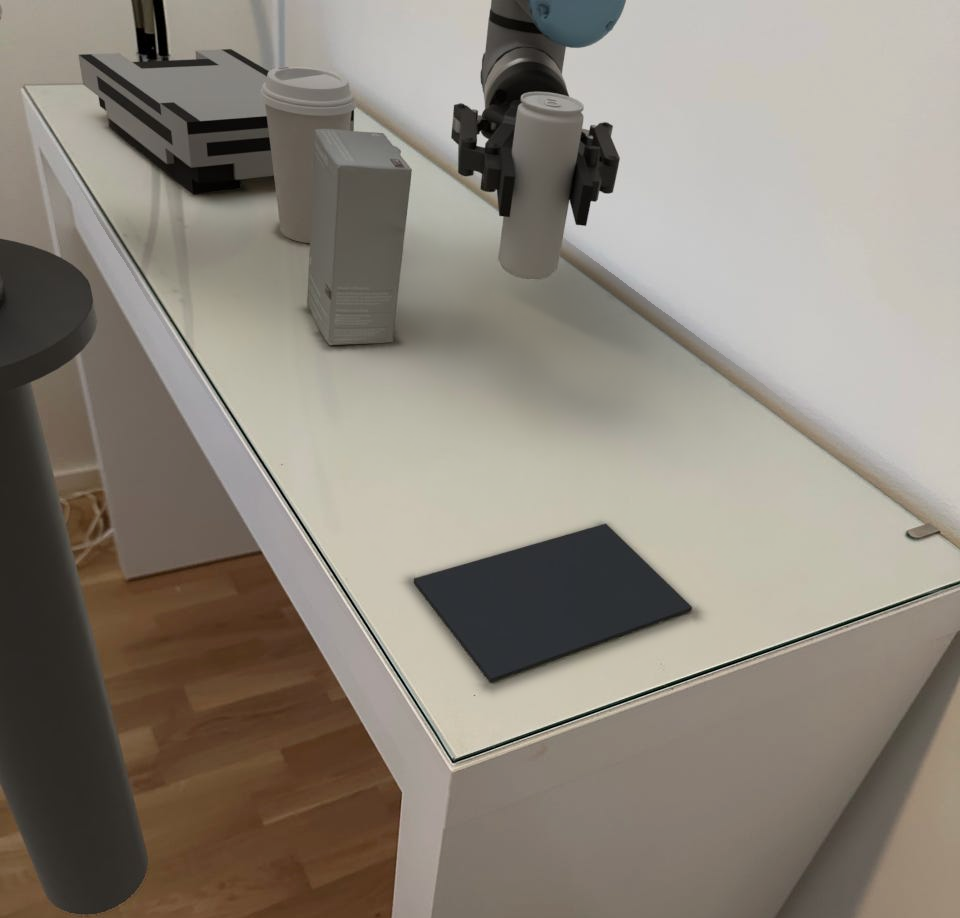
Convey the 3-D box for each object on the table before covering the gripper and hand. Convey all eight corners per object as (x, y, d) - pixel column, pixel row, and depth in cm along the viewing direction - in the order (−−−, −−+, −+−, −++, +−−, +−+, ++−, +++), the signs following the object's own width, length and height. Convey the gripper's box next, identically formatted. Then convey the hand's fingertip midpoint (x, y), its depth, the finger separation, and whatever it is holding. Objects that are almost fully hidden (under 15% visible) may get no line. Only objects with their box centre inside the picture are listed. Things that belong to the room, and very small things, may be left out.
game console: (234, 105, 131) (230, 38, 125) (352, 182, 114) (354, 109, 108) (88, 116, 120) (76, 43, 115) (194, 202, 103) (186, 122, 98)
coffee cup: (334, 212, 106) (335, 64, 96) (367, 245, 100) (372, 91, 90) (254, 218, 102) (245, 63, 92) (283, 252, 96) (278, 92, 86)
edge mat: (413, 582, 61) (413, 578, 61) (604, 527, 68) (605, 523, 68) (490, 683, 55) (491, 678, 55) (691, 611, 62) (692, 607, 62)
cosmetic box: (305, 307, 88) (302, 125, 77) (377, 304, 90) (384, 127, 79) (327, 349, 82) (328, 160, 71) (403, 344, 85) (415, 160, 74)
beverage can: (498, 278, 71) (521, 106, 63) (495, 254, 75) (516, 87, 66) (559, 284, 72) (590, 114, 63) (553, 260, 75) (581, 95, 67)
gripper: (616, 166, 85) (656, 267, 68) (423, 142, 83) (415, 241, 66) (635, 73, 80) (683, 159, 63) (429, 46, 78) (423, 127, 61)
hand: (546, 201), depth 65 cm, fingers closed on beverage can, 5 cm apart
